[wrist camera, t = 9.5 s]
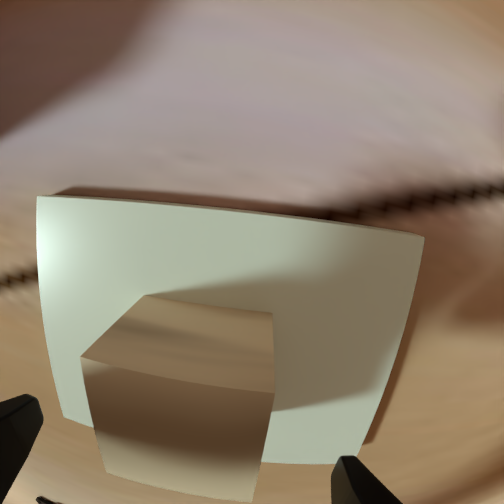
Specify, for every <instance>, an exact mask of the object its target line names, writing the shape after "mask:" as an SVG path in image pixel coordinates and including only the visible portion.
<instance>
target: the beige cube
mask: <svg viewBox="0 0 504 504" xmlns="http://www.w3.org/2000/svg"><path fill="white" fill-rule="evenodd" d="M80 361H81V368H82V374H83V379H84V385H85V390H86V395H87V400H88V405H89V409H90V414H91V418H92V422H93V426H94V430H95V434H96V438H97V442H98V445H99V449H100V453H101V456H102V459H103V463H104V466H105V469H106V472H107V473H109V474H112V475H116V476H119V477H122V478H125V479H129V480H132V481H136V482H139V483H143V484H147V485H151V486H155V487H159V488H163V489H167V490H172V491H177V492H181V493H187V494H192V495H198V496H204V497H210V498H217V499H224V500H233V501H242V502H252V499H253V494H254V490H255V486H256V482H257V477H258V473H259V468H260V464H261V459H262V455H263V450H264V446H265V441H266V436H267V431H268V427H269V422H270V417H271V412H272V407H273V402H274V397H275V371H274V343H273V317H272V313H269V312H260V311H251V310H243V309H235V308H227V307H220V306H212V305H205V304H198V303H191V302H184V301H177V300H170V299H164V298H158V297H151V296H145V295H143V296H142V297H141V298H140V299H139V300H138V301H137V302H136V303H135V304H134V305H133V306H132V307H131V308H130V309H128V310H127V311H126V312H125V313H124V314H123V315H122V316H121V317H120V318H119V319H118V320H117V321H116V322H115V323H114V324H113V325H112V326H111V327H110V328H109V329H108V330H107V331H105V332H104V333H103V334H102V335H101V336H100V337H99V338H98V339H97V340H96V341H95V342H94V343H93V344H92V345H91V346H90V347H89V348H88V349H87V350H86V351H85V352H84V353H83V354H82V355H81V356H80Z"/></svg>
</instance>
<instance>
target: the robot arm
mask: <svg viewBox="0 0 504 504" xmlns="http://www.w3.org/2000/svg"><path fill="white" fill-rule="evenodd" d="M42 424H43V414H42V411H41V408H40V405H39V401H38V399H37V398H36V397H33V396H31V395H29V394H23V395H20V396H17V397H14V398H12V399H9V400H6V401H3V402H0V504H2V503H3V501H4V499H5V497H6V495H7V493H8V491H9V489H10V488H11V486H12V484H13V482H14V480H15V479H16V477H17V475H18V473H19V471H20V470H21V468H22V466H23V464H24V463H25V461H26V459H27V457H28V455H29V453H30V451H31V448H32V446H33V444H34V442H35V439H36V437H37V435H38V433H39V431H40V428H41V426H42ZM36 501H37V502H38V504H52V503H50V502H48V501H46V500H44V499H42V498H40V497H37V498H36ZM331 501H332V504H403V503H402V502H401V501H400V500H399V499H398V498H396V497H395V496H394V495H393V494H392V493H391V492H390V491H389V490H388V489H387V488H386V487H385V486H384V485H383V484H382V483H381V482H380V481H379V480H378V479H377V478H376V477H375V476H374V475H373V474H372V473H371V472H370V471H369V470H368V469H367V468H366V467H365V466H364V464H363V463H362V462H361V461H360V460H359V459H358V458H357V457H356V456H354V455H342V456H340V457H339V458H338V460H337V463H336V465H335V467H334V469H333V472H332V475H331Z"/></svg>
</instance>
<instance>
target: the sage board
mask: <svg viewBox="0 0 504 504" xmlns="http://www.w3.org/2000/svg"><path fill="white" fill-rule="evenodd" d="M36 231H37V262H38V277H39V289H40V299H41V308H42V315H43V323H44V329H45V336H46V342H47V347H48V353H49V358H50V363H51V368H52V372H53V377H54V381H55V385H56V390H57V394H58V397H59V401H60V405H61V409H62V412H63V416H64V417H65V418H68V419H71V420H73V421H76V422H79V423H81V424H84V425H87V426H90V427H93V428H94V426H93V422H92V418H91V414H90V409H89V405H88V400H87V395H86V390H85V385H84V379H83V374H82V368H81V361H80V356H81V355H82V354H83V353H84V352H85V351H86V350H87V349H88V348H89V347H90V346H91V345H92V344H93V343H94V342H95V341H96V340H97V339H98V338H99V337H100V336H101V335H102V334H103V333H104V332H105V331H107V330H108V329H109V328H110V327H111V326H112V325H113V324H114V323H115V322H116V321H117V320H118V319H119V318H120V317H121V316H122V315H123V314H124V313H125V312H126V311H127V310H128V309H130V308H131V307H132V306H133V305H134V304H135V303H136V302H137V301H138V300H139V299H140V298H141V297H142V296H143V295H145V296H151V297H158V298H164V299H170V300H177V301H184V302H191V303H198V304H205V305H212V306H220V307H227V308H235V309H243V310H251V311H260V312H269V313H272V317H273V343H274V371H275V397H274V402H273V407H272V412H271V417H270V422H269V427H268V431H267V436H266V441H265V446H264V450H263V455H262V459H261V462H271V463H290V464H336V463H337V460H338V458H339V457H340V456H342V455H354V456H357V454H358V452H359V450H360V448H361V445H362V443H363V441H364V439H365V437H366V434H367V432H368V430H369V427H370V425H371V423H372V420H373V418H374V415H375V413H376V410H377V408H378V405H379V403H380V400H381V398H382V395H383V392H384V390H385V387H386V384H387V381H388V379H389V376H390V373H391V370H392V367H393V364H394V361H395V358H396V355H397V352H398V348H399V345H400V342H401V339H402V335H403V332H404V328H405V325H406V321H407V318H408V314H409V310H410V306H411V302H412V298H413V294H414V290H415V286H416V281H417V277H418V272H419V267H420V263H421V258H422V252H423V247H424V242H425V237H422V236H420V235H417V234H414V233H410V232H404V231H398V230H391V229H385V228H378V227H372V226H365V225H358V224H351V223H344V222H337V221H330V220H322V219H315V218H307V217H299V216H291V215H283V214H275V213H266V212H257V211H249V210H240V209H230V208H221V207H211V206H201V205H190V204H179V203H168V202H156V201H144V200H131V199H118V198H103V197H87V196H70V195H43V196H37V216H36Z"/></svg>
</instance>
